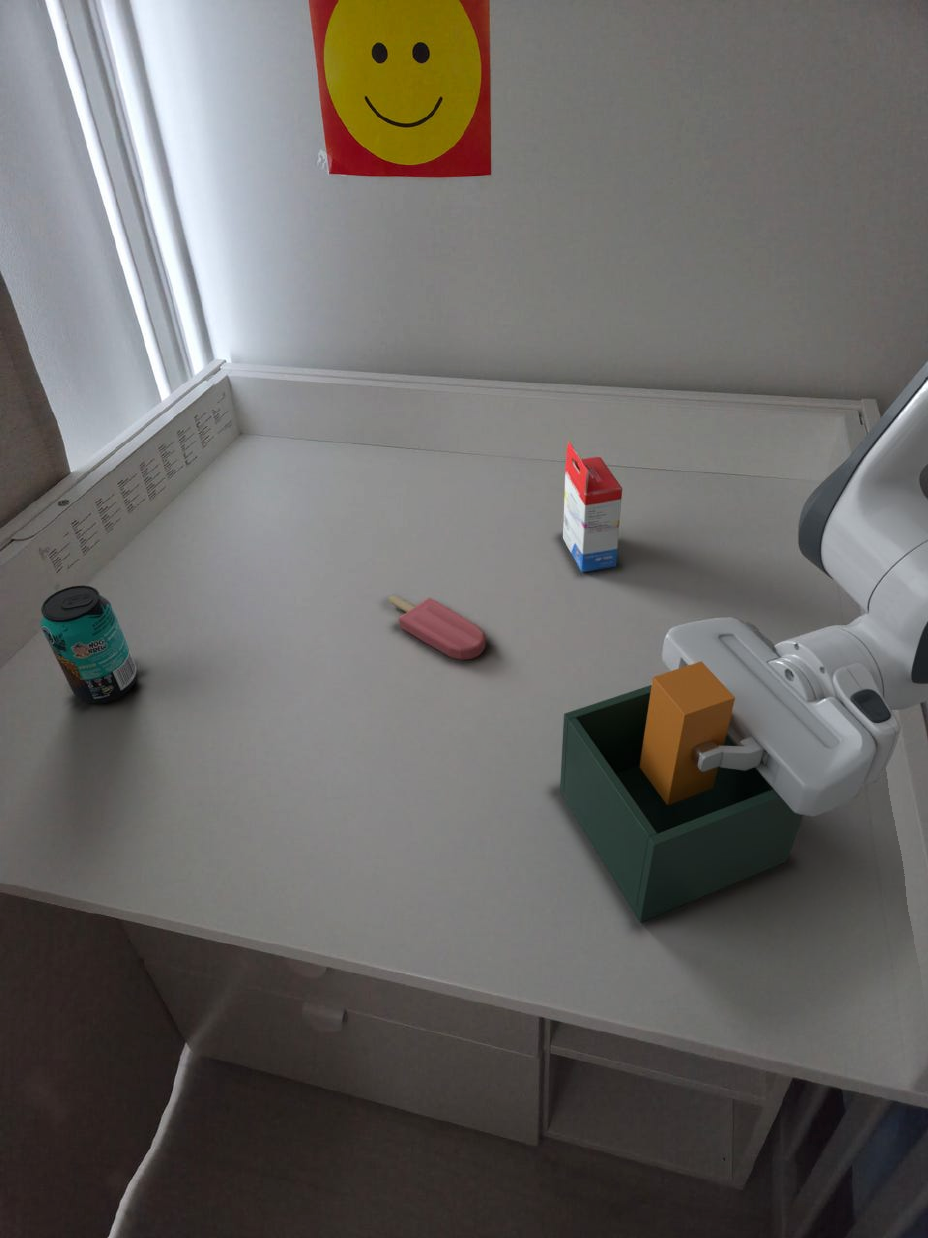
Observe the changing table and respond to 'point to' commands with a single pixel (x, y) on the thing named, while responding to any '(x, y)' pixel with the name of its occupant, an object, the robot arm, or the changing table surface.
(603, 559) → the ink box
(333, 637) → the changing table surface
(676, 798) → the orange rectangular prism
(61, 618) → the beverage can
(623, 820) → the open green box
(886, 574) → the robot arm
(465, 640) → the popsicle
